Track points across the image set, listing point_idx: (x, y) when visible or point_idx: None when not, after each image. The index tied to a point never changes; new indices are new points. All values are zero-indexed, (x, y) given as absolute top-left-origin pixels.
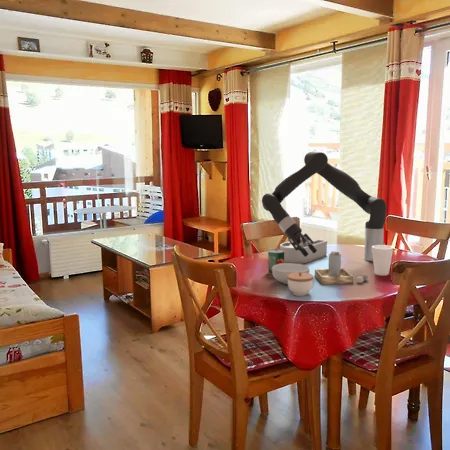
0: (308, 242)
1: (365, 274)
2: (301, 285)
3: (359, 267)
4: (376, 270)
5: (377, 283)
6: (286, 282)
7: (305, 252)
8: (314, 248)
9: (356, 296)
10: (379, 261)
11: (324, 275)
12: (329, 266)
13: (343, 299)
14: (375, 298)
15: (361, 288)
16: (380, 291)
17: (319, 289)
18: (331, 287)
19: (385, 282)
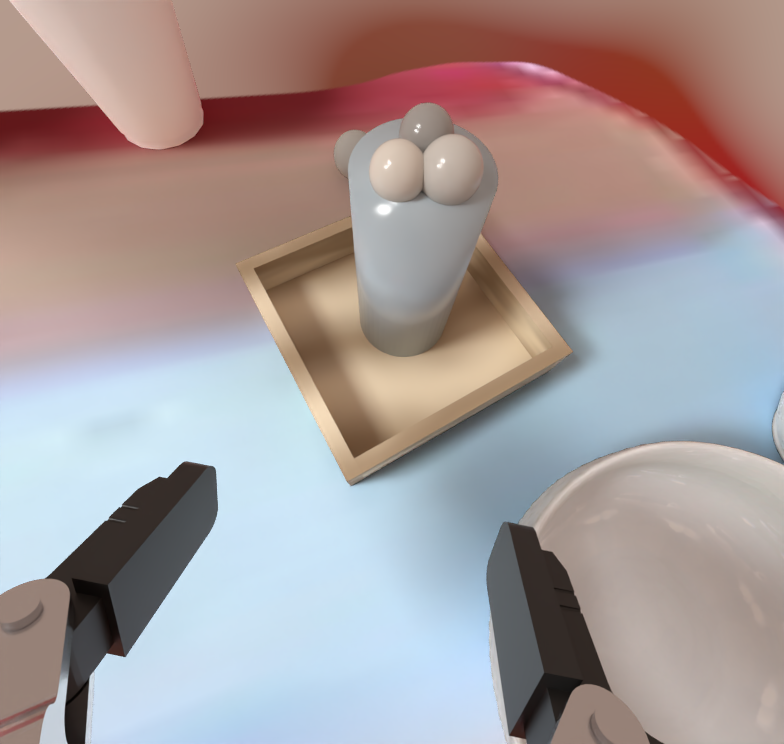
0: (59, 722)
1: (356, 131)
2: None
3: (5, 241)
4: (182, 112)
5: (378, 119)
6: (779, 625)
7: (547, 579)
8: (180, 502)
9: (651, 169)
10: (170, 21)
11: (357, 399)
12: (452, 294)
13: (736, 209)
14: (626, 105)
15: (507, 168)
16: (511, 98)
17: (660, 356)
18: (577, 302)
19: (344, 93)
